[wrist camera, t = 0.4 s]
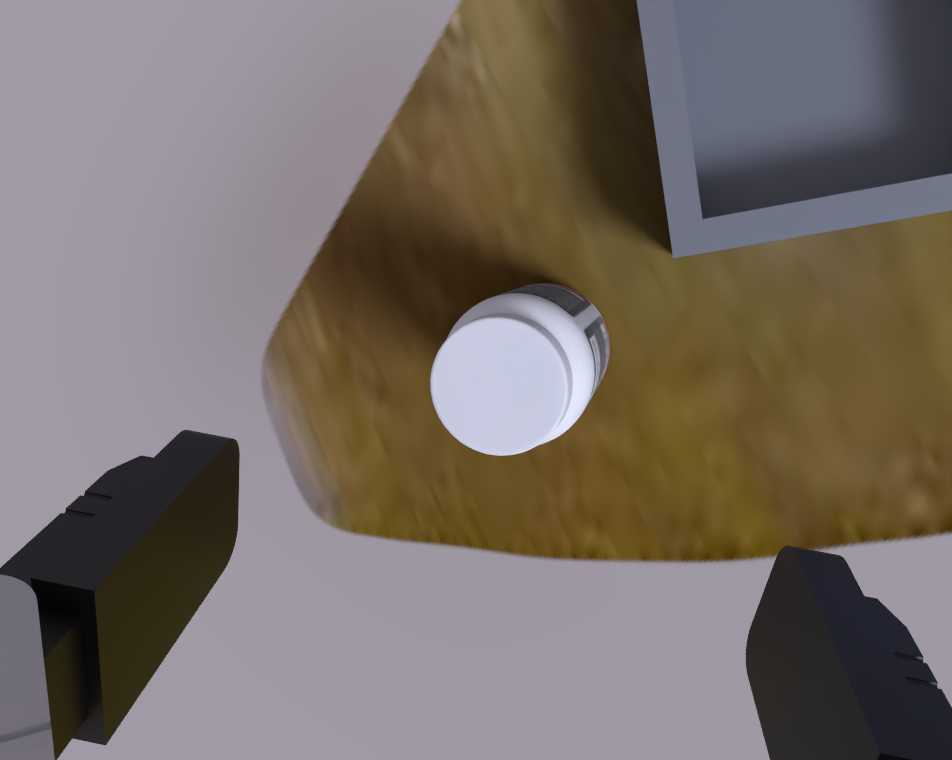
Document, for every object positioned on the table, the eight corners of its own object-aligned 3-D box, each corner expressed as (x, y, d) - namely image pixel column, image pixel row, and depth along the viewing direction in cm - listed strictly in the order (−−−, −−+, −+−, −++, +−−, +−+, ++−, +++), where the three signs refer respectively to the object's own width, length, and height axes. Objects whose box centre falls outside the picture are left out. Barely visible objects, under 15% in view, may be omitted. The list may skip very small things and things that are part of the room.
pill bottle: (461, 339, 36) (380, 375, 26) (551, 255, 34) (499, 260, 25) (543, 433, 36) (491, 503, 26) (639, 353, 34) (620, 396, 24)
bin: (970, -138, 28) (1022, -207, 24) (999, 199, 29) (1053, 192, 25) (633, -42, 31) (624, -87, 27) (675, 256, 33) (673, 258, 28)
